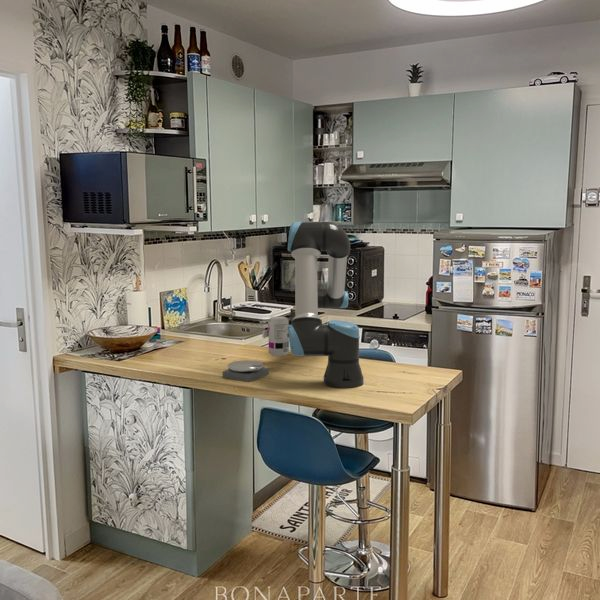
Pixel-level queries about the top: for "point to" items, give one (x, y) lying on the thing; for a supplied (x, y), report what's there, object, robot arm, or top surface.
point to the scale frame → (245, 374)
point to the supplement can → (278, 336)
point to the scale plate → (245, 366)
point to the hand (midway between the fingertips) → (273, 335)
